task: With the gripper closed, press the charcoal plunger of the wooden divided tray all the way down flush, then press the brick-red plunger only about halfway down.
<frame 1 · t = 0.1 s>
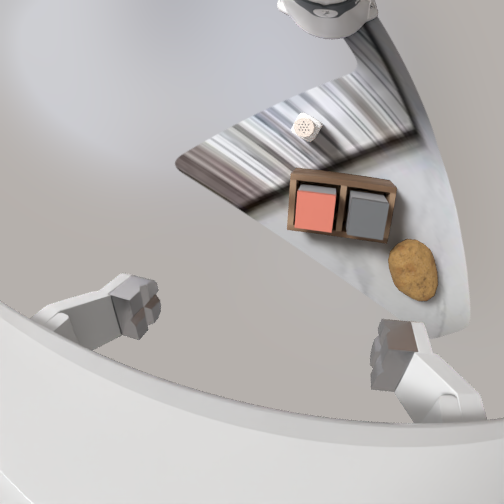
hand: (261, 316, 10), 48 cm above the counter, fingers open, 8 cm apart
potato: (410, 260, 55), on the counter
pepper shaker: (309, 127, 50), on the counter
wooden divided tray: (340, 198, 54), on the counter
red plunger: (316, 207, 48), point 8 cm above the counter, slide at 0.0 cm
charcoal plunger: (366, 214, 46), point 8 cm above the counter, slide at 0.0 cm
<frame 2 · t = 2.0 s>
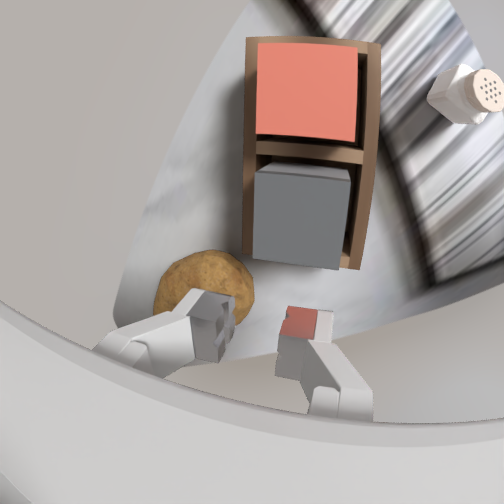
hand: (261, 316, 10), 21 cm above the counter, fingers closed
potato: (214, 279, 36), on the counter
pepper shaker: (446, 98, 21), on the counter
wooden divided tray: (315, 145, 27), on the counter
red plunger: (310, 93, 18), point 8 cm above the counter, slide at 0.0 cm
charcoal plunger: (303, 209, 21), point 8 cm above the counter, slide at 0.0 cm
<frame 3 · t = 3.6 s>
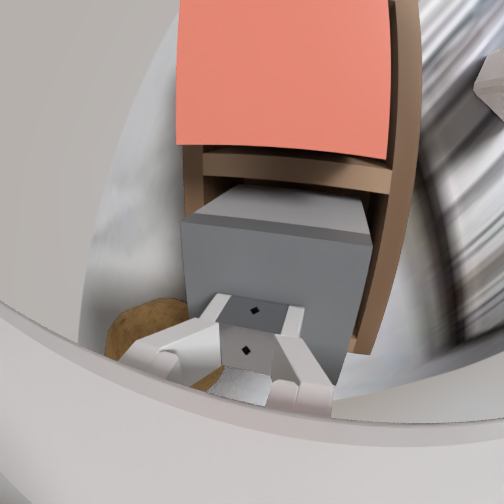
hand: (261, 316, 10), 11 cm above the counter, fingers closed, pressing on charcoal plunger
potato: (180, 327, 28), on the counter
pepper shaker: (497, 89, 12), on the counter
wooden divided tray: (309, 153, 18), on the counter
red plunger: (293, 63, 9), point 8 cm above the counter, slide at 0.0 cm
charcoal plunger: (283, 274, 13), point 8 cm above the counter, slide at 0.0 cm, touching gripper
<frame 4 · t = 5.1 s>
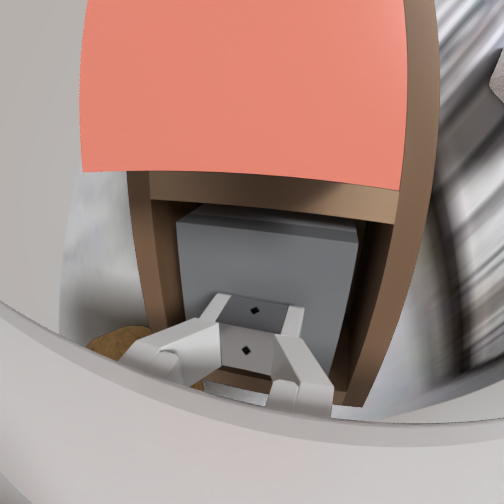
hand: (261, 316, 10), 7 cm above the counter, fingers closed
potato: (157, 352, 25), on the counter
wooden divided tray: (293, 163, 15), on the counter
red plunger: (258, 43, 6), point 8 cm above the counter, slide at 0.0 cm
charcoal plunger: (275, 271, 13), point 4 cm above the counter, slide at 4.0 cm
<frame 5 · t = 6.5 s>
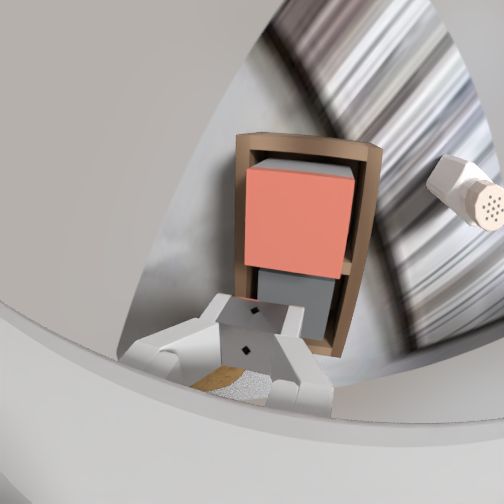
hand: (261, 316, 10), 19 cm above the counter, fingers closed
potato: (211, 337, 38), on the counter
pepper shaker: (447, 179, 22), on the counter
wooden divided tray: (307, 230, 28), on the counter
red plunger: (301, 211, 19), point 8 cm above the counter, slide at 0.0 cm
charcoal plunger: (297, 289, 27), point 4 cm above the counter, slide at 4.0 cm
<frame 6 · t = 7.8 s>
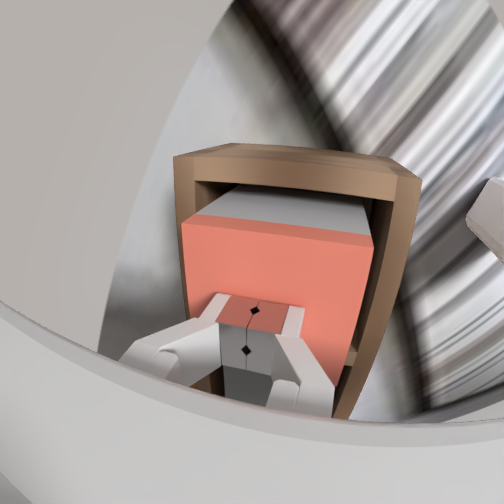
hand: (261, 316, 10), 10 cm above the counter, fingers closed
pepper shaker: (491, 211, 15), on the counter
wooden divided tray: (298, 280, 21), on the counter
red plunger: (284, 274, 13), point 7 cm above the counter, slide at 1.0 cm, touching gripper
charcoal plunger: (282, 363, 19), point 4 cm above the counter, slide at 4.0 cm
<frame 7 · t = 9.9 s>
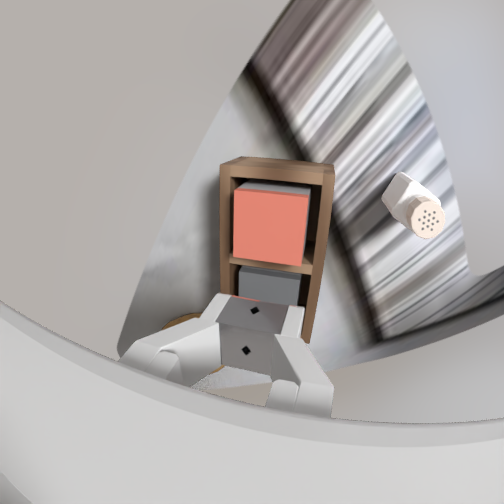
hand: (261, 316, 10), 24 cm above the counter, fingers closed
pepper shaker: (401, 193, 29), on the counter
wooden divided tray: (281, 237, 34), on the counter
red plunger: (274, 218, 27), point 6 cm above the counter, slide at 2.0 cm
charcoal plunger: (272, 286, 33), point 4 cm above the counter, slide at 4.0 cm
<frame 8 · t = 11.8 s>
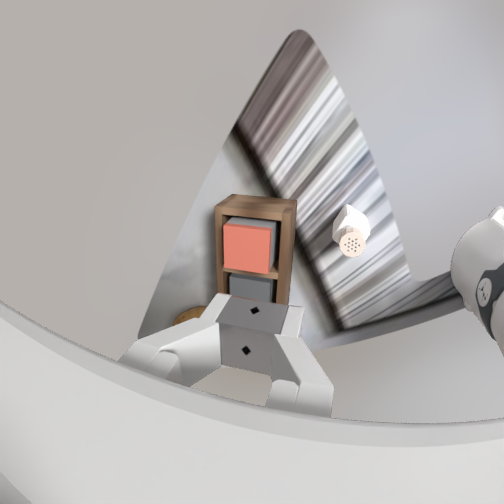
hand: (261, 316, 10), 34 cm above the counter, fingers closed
potato: (206, 320, 57), on the counter
pepper shaker: (349, 219, 42), on the counter
wooden divided tray: (261, 251, 48), on the counter
red plunger: (252, 241, 41), point 6 cm above the counter, slide at 2.0 cm
charcoal plunger: (254, 287, 46), point 4 cm above the counter, slide at 4.0 cm
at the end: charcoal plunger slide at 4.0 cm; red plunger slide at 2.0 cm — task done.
